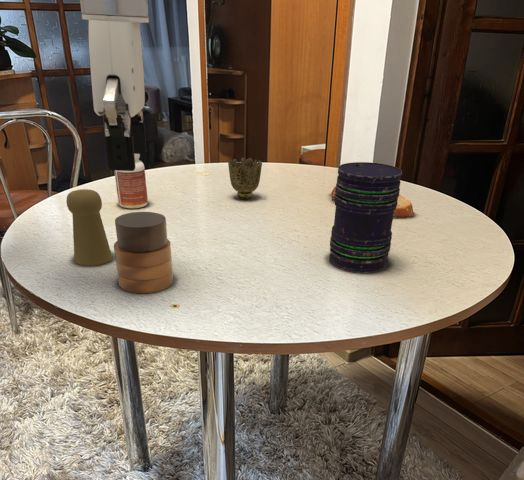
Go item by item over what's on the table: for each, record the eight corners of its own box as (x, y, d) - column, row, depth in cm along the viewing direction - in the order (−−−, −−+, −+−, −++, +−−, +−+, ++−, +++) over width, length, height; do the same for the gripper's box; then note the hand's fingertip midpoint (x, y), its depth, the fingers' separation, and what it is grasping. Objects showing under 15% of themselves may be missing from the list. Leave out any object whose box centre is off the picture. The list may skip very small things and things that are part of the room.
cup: (235, 204, 112) (235, 166, 107) (223, 195, 117) (223, 158, 113) (266, 200, 114) (267, 163, 110) (253, 192, 120) (254, 156, 116)
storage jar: (400, 266, 84) (417, 172, 76) (354, 277, 80) (367, 180, 72) (360, 246, 91) (371, 159, 83) (316, 256, 87) (324, 165, 79)
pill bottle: (154, 205, 109) (149, 151, 103) (129, 211, 106) (122, 154, 100) (138, 199, 113) (132, 146, 107) (113, 204, 109) (106, 149, 103)
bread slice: (414, 219, 105) (418, 201, 103) (327, 213, 108) (329, 195, 106) (408, 196, 120) (411, 180, 118) (332, 190, 123) (333, 174, 121)
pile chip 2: (112, 280, 72) (110, 267, 71) (122, 259, 79) (120, 246, 78) (169, 280, 73) (168, 267, 72) (174, 259, 79) (173, 246, 78)
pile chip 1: (110, 267, 71) (108, 253, 70) (120, 246, 78) (119, 234, 77) (168, 267, 72) (167, 254, 71) (173, 246, 78) (172, 234, 77)
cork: (113, 251, 87) (104, 185, 81) (111, 265, 82) (101, 195, 76) (76, 252, 86) (64, 186, 80) (71, 266, 81) (58, 196, 75)
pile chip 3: (114, 293, 73) (112, 280, 72) (124, 270, 80) (122, 259, 79) (170, 293, 74) (169, 280, 73) (175, 271, 80) (174, 259, 79)
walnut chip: (113, 252, 71) (110, 227, 69) (122, 235, 76) (119, 211, 74) (164, 252, 71) (162, 227, 69) (169, 235, 77) (168, 211, 75)
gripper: (98, 6, 66) (112, 146, 75) (60, 2, 51) (84, 176, 60) (156, 9, 66) (164, 148, 76) (136, 6, 52) (148, 178, 61)
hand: (128, 161), depth 68 cm, fingers open, 9 cm apart
